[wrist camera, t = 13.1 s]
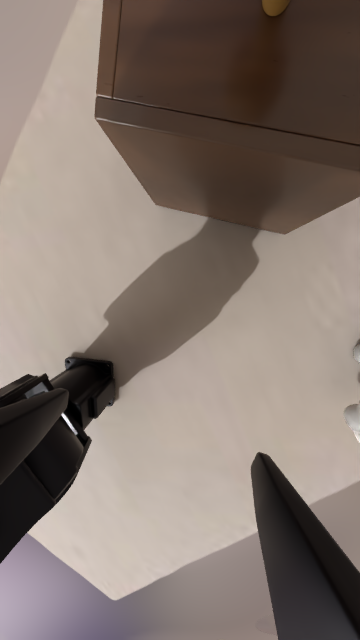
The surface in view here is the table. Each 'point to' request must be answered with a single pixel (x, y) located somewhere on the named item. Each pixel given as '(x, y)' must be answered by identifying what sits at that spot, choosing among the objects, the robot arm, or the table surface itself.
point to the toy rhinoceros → (354, 405)
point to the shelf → (235, 105)
